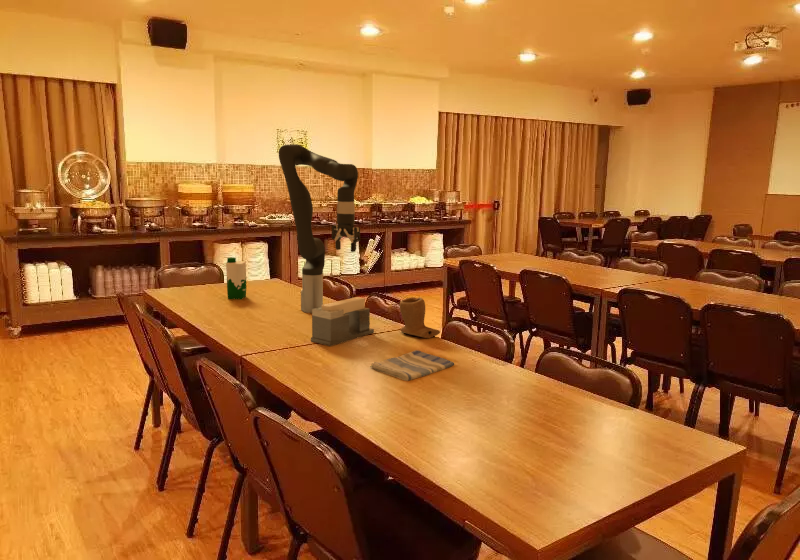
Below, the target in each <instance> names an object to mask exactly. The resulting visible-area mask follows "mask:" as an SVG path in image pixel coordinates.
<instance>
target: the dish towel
mask: <svg viewBox="0 0 800 560" xmlns="http://www.w3.org/2000/svg"><path fill="white" fill-rule="evenodd" d="M370 365H371V366H370V368H371V369H373V370H375V371H376V370H377V371H376V372H380V373H383V374H385V375H389V376H392V377H394V378H397V379H399V380H402V381H405V382H409V381H411V380H412V381H413V380H415V379H418V378H422V377H426V376H429V375H431V374H434V373H436V372H437V373H438V372H440V371H442V370H446V369H448V368H450V367H453V366H454V365H455V363H454V362H453V361H450V360H448V359H446V358H443V357H440V356H437V355H433V354H430V353H427V352H423V351H421V350H419V349H415V350H412V351H411V352H410V351H409V352H407V353H403V354H402V355H400V356H397V357H396V356H395V357H391V358H387V359H384V360H382V361H379V362H377V361H374V362H373V363H371V364H370Z"/></svg>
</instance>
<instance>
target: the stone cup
mask: <svg viewBox="0 0 800 560" xmlns="http://www.w3.org/2000/svg"><path fill="white" fill-rule="evenodd" d="M398 307H399V311H400V314H401V316H402V319H403V321H404V326H403V327H401V328H400V329H399V331H400V332H401V333H404V334H407V335H410V336H415V337H420V338H425V339H430V338H431V339H432V338H433V336H434V337H436V336H438V335H440V333H441V331H440V330H439V329H435V328H432V327H428V326H426V325H425V317H426V316H425V315H426V302H425V300H424V298H422V297H420V296H419V297H415V296H414V297H413V296H411V297H408V298H403V299H401V300H400V301H399V306H398Z"/></svg>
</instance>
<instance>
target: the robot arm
mask: <svg viewBox="0 0 800 560" xmlns="http://www.w3.org/2000/svg"><path fill="white" fill-rule="evenodd" d="M278 159H279V162H280V163H279V164H280V166H281V170H282V173H283V177H284V179H285V182H286V187H287V191H288V197H289V201H290V205H291V210H292V214H293V215H292V216H293V220H294V225H295V228H296V235H297V245H298V250H299V251H298V252H299V254H300V256H301V257H302V258H303V259H304V260H305V263H304V266H303V267H302V268H301V275H302V276H301V277H302V281H301V282H302V283H301V284H302V288H301V290H300V311H302V312H304V313H309V314H312V309H314V308H318V307H322V305H324V292H323V291H324V289H323V288H324V281H323V280H324V278H323V277H324V275H323V273H324V272H323V271H324V269H325V262H326V261H325V259H326V257H325V256H326V255H325V254H326V249H325V247H326V246H325V244H324V241H322V240H321V238H318V237H314V234H313V228H312V223H313V222H312V220H313V214H314V211H313V210H314V206H313V200H312V197H311V193H310V191H309V189H308V188H307V186H306V185H305V184H304V183H303V181H302V180H301V178H300V177H299V173H298V170H297V168H296V166H309V167H311V168H313V169H314V170H315V171H316V172H318V173H320V174H323V175H325V176H329V177H330V178H332V179H333V180H336V181H339V182H343V185H341V186H340V187H338V188H337V195H336V197H337V202H336V223H337V224H333V225H331V239H332V240H334V241H335V242H334V243H335V245H334V248H335V250H336V251H339V250H341V249H342V248H341V247H342V246H341V245H342V244H341V239H342V238H344V237H345V238H347V239H349V241H350V242H351V243H350V252H351V253H355V252H356V251H357V243H358V242H361V228H360V227H359V226H357V227H355V226H354V224H355V222H356V220H355V219H356V216H355V215H356V214H355V213H356V210H355V209H356V208H355V207H356V205H355V190H356V187H357V183H358V178H359V171H358V168H357V166H356V165H354V164H353V163H341V162H338V160H336V159H332V158H329V157H326V156H323V155H320V154H317V153H315V152H313V151H311V150H309V149H308V148H306V147H304V146H303V145H300V144H294V143H292V144H283V145H281V146H280V147H279V148H278Z"/></svg>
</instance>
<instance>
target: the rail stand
mask: <svg viewBox="0 0 800 560" xmlns="http://www.w3.org/2000/svg"><path fill="white" fill-rule="evenodd" d="M370 310H371V308H369V307H365V308H363V309H359V310H356V311H352V312H348V313H344V310H343V309H340V310H336V311H332V312H328V311H324V310H322V307H318V308H314V309H312V313H311V331H312V332H311V337H310V342H311V343H316V344H319V345H324V346H327V347H333V346H335V345H339V344H342V343H345V342H349V341H352V340H355V339H358V338H362V337H365V336H368V335H371V334H374V333H375V332H374V331H375V329H374V328H370V322H371V321H370V319H371V318H370V317H371V316H370V315H371V314H370Z"/></svg>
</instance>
